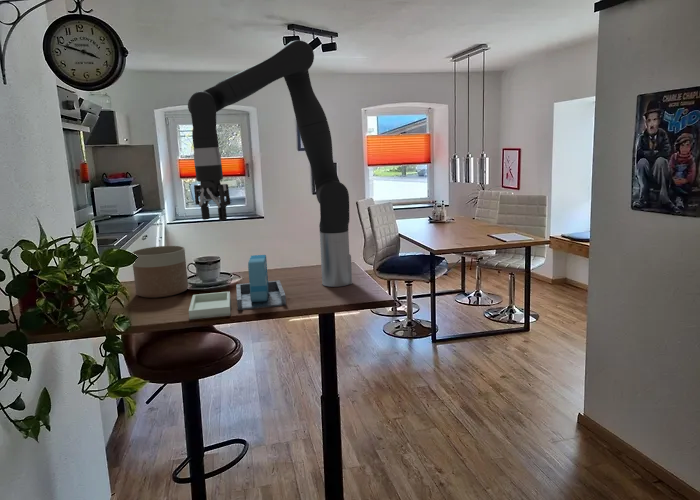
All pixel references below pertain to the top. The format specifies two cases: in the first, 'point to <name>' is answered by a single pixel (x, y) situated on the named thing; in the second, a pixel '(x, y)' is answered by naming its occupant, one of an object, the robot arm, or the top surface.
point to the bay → (274, 299)
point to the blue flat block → (258, 278)
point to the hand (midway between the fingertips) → (214, 219)
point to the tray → (210, 305)
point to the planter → (160, 271)
